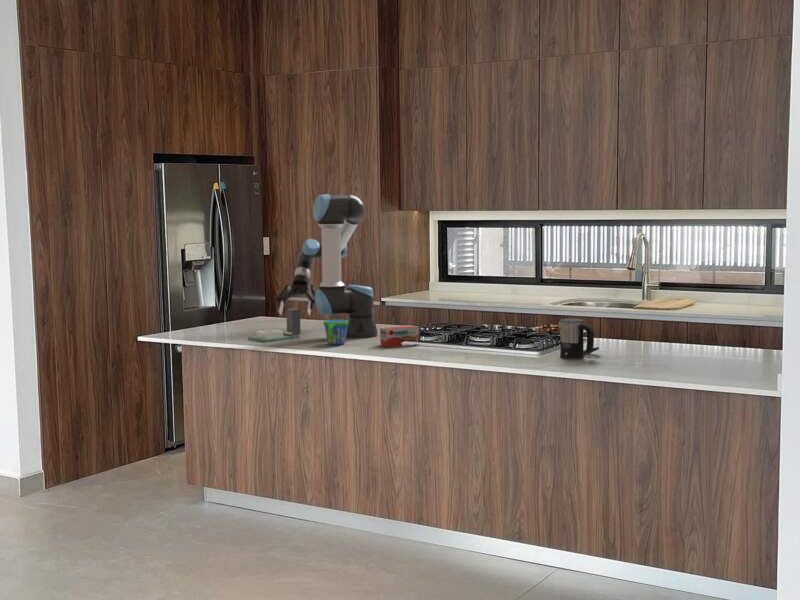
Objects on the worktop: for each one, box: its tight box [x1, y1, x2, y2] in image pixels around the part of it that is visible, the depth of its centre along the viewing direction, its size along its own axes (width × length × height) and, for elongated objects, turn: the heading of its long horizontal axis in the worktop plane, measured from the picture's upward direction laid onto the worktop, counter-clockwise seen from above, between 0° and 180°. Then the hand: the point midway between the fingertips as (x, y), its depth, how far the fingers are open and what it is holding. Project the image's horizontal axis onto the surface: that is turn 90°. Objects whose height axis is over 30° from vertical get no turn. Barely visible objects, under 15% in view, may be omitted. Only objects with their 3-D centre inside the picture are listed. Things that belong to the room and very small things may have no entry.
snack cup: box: [323, 319, 348, 346], centre depth 416 cm, size 16×10×10 cm
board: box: [247, 329, 300, 343], centre depth 434 cm, size 14×18×4 cm
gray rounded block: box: [285, 308, 301, 336], centre depth 446 cm, size 5×4×12 cm
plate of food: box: [534, 322, 587, 334], centre depth 443 cm, size 28×28×6 cm
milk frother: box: [559, 318, 600, 360], centre depth 376 cm, size 14×16×15 cm
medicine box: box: [379, 324, 420, 348], centre depth 411 cm, size 15×8×8 cm, turn 113°
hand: (294, 313), depth 450 cm, fingers open, 13 cm apart
